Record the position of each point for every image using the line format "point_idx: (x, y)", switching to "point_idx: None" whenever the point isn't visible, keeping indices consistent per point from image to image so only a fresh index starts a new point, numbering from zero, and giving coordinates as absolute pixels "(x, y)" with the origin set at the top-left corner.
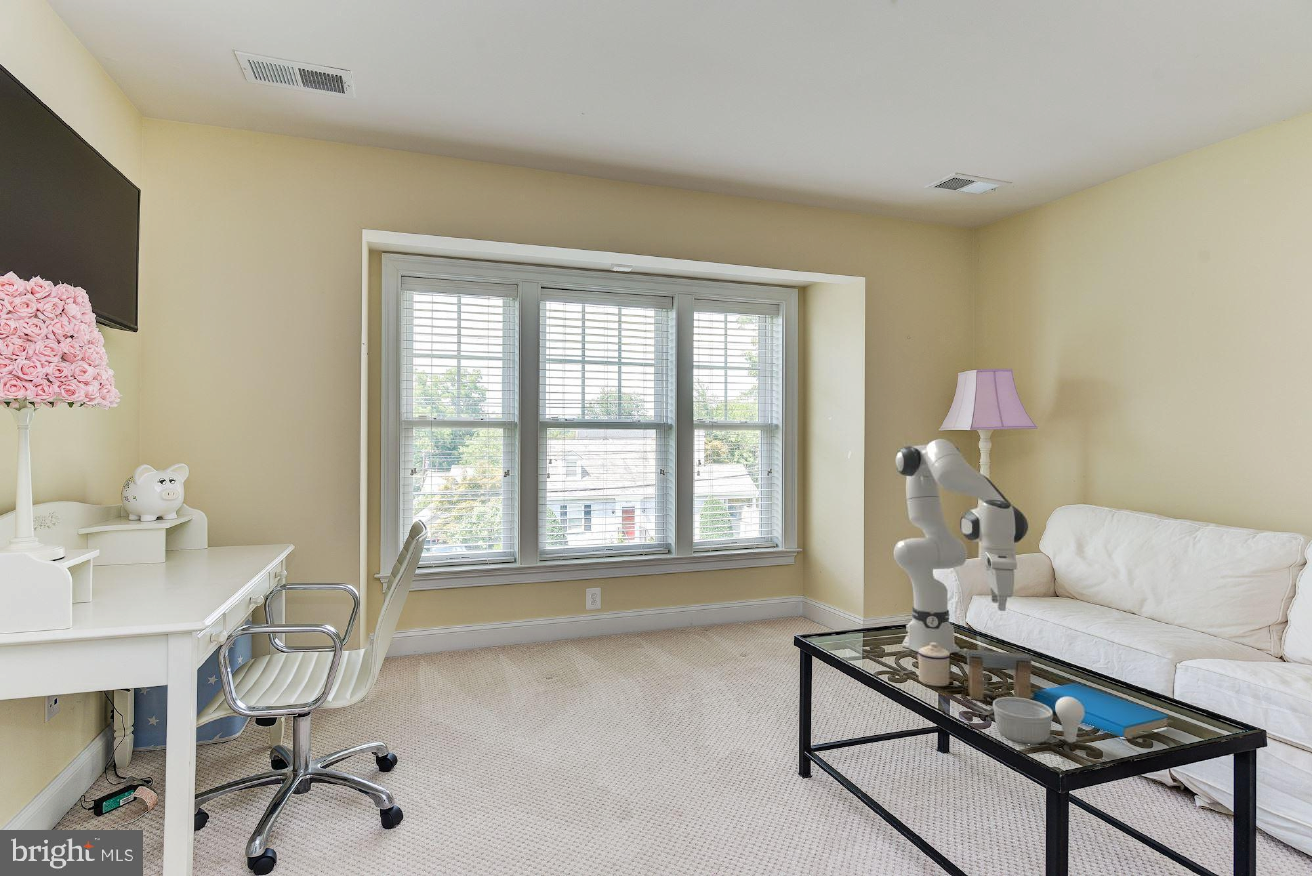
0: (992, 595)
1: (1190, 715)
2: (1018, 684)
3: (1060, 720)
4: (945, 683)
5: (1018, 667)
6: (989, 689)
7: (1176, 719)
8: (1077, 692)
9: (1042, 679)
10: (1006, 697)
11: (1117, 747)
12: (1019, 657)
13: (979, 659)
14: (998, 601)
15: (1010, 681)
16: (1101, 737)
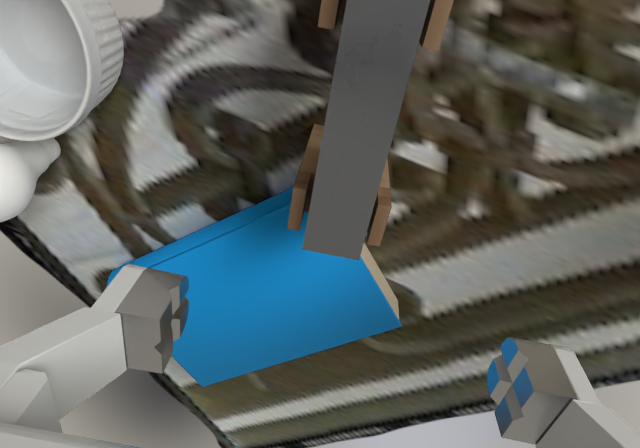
0: (573, 411)
1: (294, 424)
2: (307, 148)
3: (7, 144)
4: None
5: (296, 178)
6: (449, 74)
7: (269, 398)
8: (322, 297)
9: (527, 279)
10: (72, 20)
11: (73, 235)
12: (309, 208)
13: (321, 6)
14: (49, 330)
15: (523, 182)
16: (120, 230)
